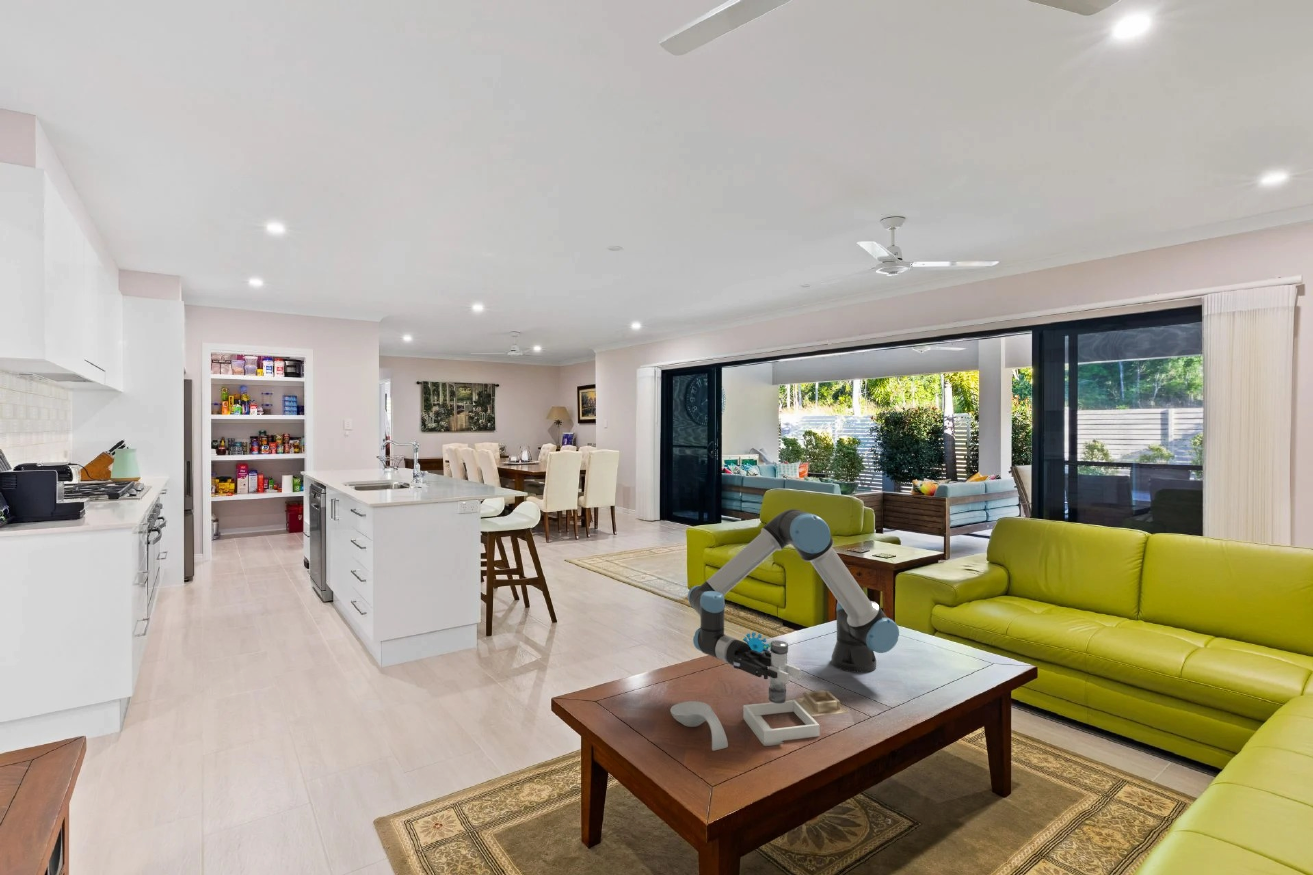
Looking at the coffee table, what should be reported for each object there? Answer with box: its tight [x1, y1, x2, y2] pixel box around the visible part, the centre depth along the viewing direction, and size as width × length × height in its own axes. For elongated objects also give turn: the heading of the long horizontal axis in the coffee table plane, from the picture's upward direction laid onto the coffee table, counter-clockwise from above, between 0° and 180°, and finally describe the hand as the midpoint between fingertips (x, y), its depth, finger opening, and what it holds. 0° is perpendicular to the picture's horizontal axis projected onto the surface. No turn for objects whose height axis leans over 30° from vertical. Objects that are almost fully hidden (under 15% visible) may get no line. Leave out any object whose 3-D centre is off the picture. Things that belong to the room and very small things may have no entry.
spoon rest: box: [669, 700, 729, 751], centre depth 180 cm, size 24×12×7 cm, turn 24°
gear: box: [742, 632, 771, 653], centre depth 237 cm, size 11×6×10 cm
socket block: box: [794, 689, 850, 717], centre depth 193 cm, size 12×12×4 cm
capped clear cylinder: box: [767, 640, 789, 703], centre depth 180 cm, size 5×5×16 cm
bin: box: [742, 699, 821, 747], centre depth 180 cm, size 16×16×4 cm
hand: (793, 676), depth 175 cm, fingers closed on capped clear cylinder, 4 cm apart
